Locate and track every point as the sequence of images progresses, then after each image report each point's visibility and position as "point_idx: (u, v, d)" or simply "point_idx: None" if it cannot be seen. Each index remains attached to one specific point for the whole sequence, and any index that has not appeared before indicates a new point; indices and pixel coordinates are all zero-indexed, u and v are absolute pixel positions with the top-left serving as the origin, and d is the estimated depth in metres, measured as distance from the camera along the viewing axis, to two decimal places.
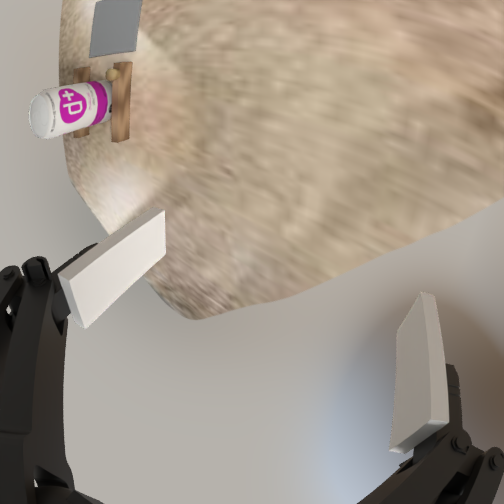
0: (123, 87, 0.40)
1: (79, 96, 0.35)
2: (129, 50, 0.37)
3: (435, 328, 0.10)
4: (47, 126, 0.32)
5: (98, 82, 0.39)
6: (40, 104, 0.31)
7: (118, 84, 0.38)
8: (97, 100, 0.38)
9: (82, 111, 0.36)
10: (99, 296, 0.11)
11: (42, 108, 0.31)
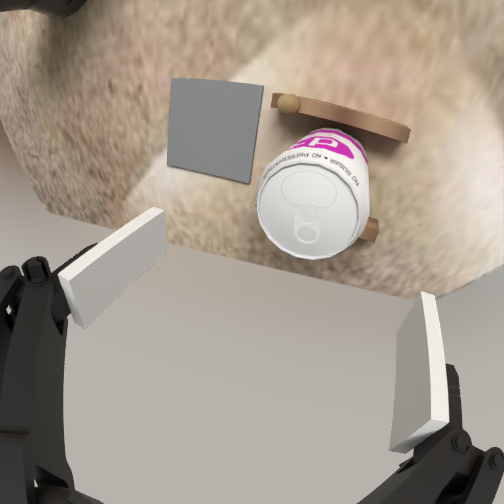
0: (318, 101, 0.27)
1: (305, 139, 0.22)
2: (259, 94, 0.29)
3: (435, 328, 0.10)
4: (340, 184, 0.18)
5: None
6: (282, 197, 0.19)
7: (309, 100, 0.26)
8: (326, 132, 0.25)
9: (337, 141, 0.22)
10: (99, 296, 0.11)
11: (293, 191, 0.19)
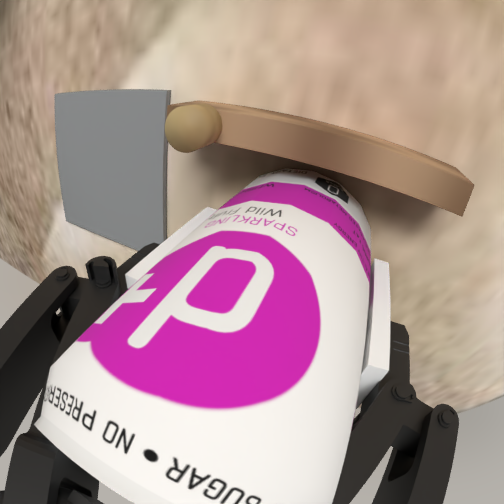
0: (265, 114, 0.12)
1: (186, 251, 0.08)
2: (162, 107, 0.15)
3: (384, 289, 0.11)
4: None
5: None
6: None
7: (240, 113, 0.12)
8: (270, 202, 0.10)
9: (279, 258, 0.08)
10: None
11: None
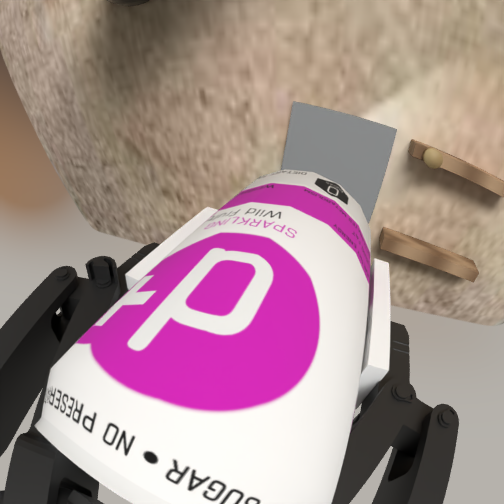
0: (449, 155, 0.25)
1: (185, 253, 0.08)
2: (393, 137, 0.28)
3: (384, 289, 0.11)
4: None
5: None
6: None
7: (447, 155, 0.24)
8: (269, 203, 0.10)
9: (278, 261, 0.08)
10: None
11: None
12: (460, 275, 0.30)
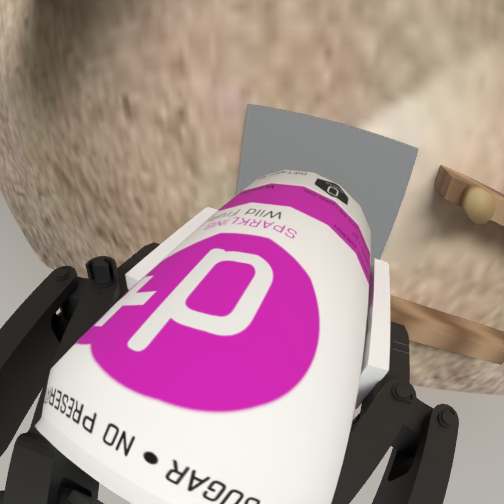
0: (499, 196, 0.14)
1: (185, 253, 0.08)
2: (411, 162, 0.17)
3: (384, 289, 0.11)
4: None
5: None
6: None
7: (498, 198, 0.13)
8: (269, 203, 0.10)
9: (278, 261, 0.08)
10: None
11: None
12: (486, 358, 0.19)
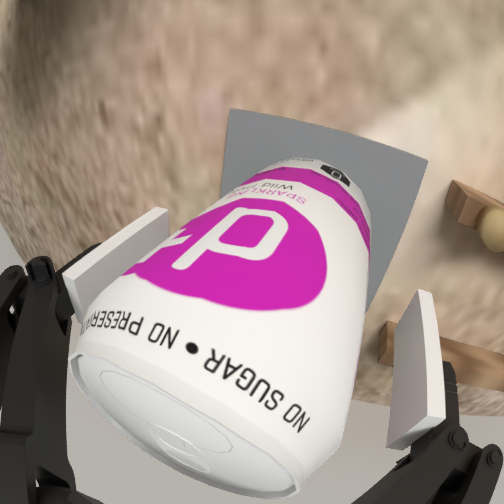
0: None
1: (213, 212, 0.10)
2: (419, 176, 0.14)
3: (432, 325, 0.10)
4: (237, 437, 0.05)
5: None
6: (114, 399, 0.07)
7: None
8: (282, 180, 0.12)
9: (291, 217, 0.09)
10: None
11: (128, 401, 0.06)
12: (491, 387, 0.16)
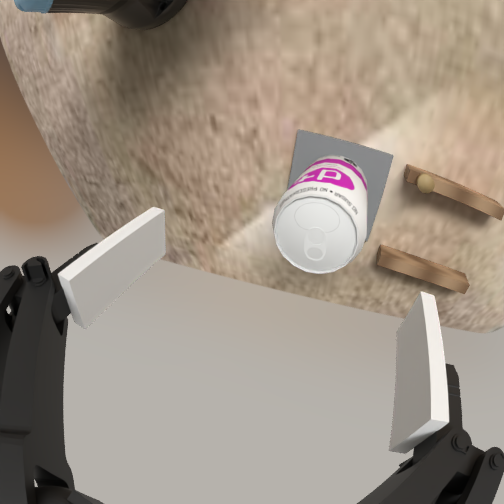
0: (442, 179, 0.29)
1: (314, 171, 0.27)
2: (389, 163, 0.32)
3: (435, 328, 0.10)
4: (342, 213, 0.22)
5: None
6: (295, 223, 0.24)
7: (439, 180, 0.28)
8: (331, 162, 0.29)
9: (340, 172, 0.26)
10: (99, 296, 0.11)
11: (304, 218, 0.23)
12: (452, 288, 0.33)
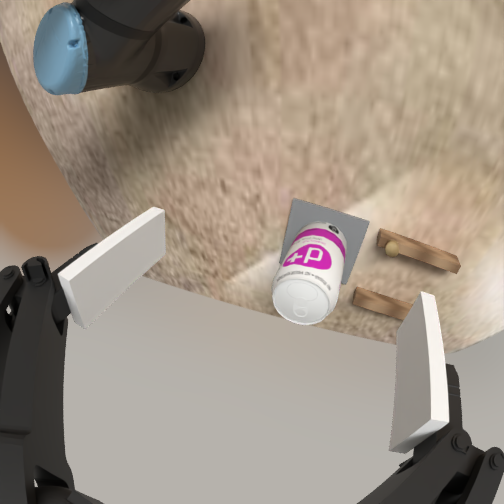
0: (407, 242, 0.39)
1: (303, 248, 0.37)
2: (366, 228, 0.42)
3: (435, 328, 0.10)
4: (319, 290, 0.33)
5: (296, 237, 0.44)
6: (287, 293, 0.34)
7: (404, 245, 0.38)
8: (317, 235, 0.40)
9: (323, 250, 0.37)
10: (99, 296, 0.11)
11: (293, 291, 0.34)
12: None
